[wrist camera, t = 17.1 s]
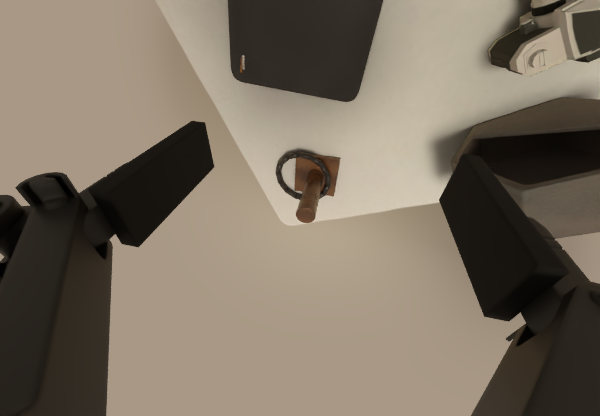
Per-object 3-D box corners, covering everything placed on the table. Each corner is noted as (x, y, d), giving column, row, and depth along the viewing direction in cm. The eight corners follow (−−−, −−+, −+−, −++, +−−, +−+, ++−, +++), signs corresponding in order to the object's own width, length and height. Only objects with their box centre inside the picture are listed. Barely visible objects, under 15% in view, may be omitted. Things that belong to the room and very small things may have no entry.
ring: (276, 145, 45) (274, 147, 44) (336, 159, 43) (335, 162, 42) (276, 191, 53) (275, 193, 52) (327, 204, 50) (326, 207, 50)
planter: (673, 80, 27) (677, 198, 18) (654, 143, 31) (649, 266, 22) (485, 108, 40) (433, 185, 31) (488, 150, 43) (442, 229, 35)
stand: (297, 152, 46) (280, 190, 36) (340, 157, 45) (335, 198, 35) (295, 187, 51) (279, 230, 41) (334, 193, 50) (328, 238, 40)
